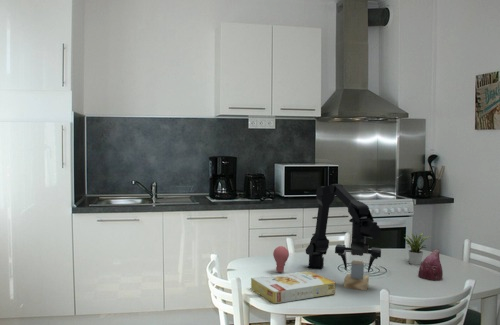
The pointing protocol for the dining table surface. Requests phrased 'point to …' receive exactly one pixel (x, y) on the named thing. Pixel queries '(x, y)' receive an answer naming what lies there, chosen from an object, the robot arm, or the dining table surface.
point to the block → (356, 282)
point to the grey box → (357, 269)
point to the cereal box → (292, 286)
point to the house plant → (415, 249)
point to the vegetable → (431, 267)
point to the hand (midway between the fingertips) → (357, 270)
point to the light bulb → (280, 257)
